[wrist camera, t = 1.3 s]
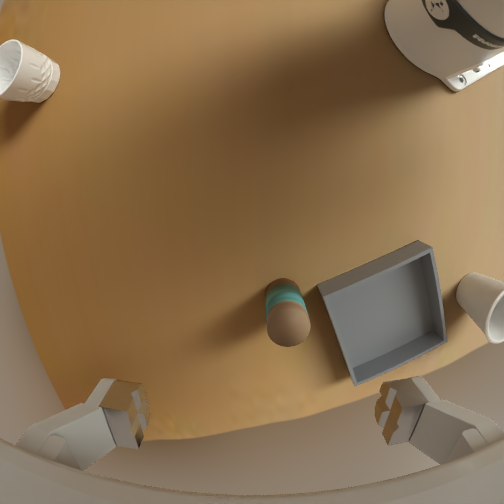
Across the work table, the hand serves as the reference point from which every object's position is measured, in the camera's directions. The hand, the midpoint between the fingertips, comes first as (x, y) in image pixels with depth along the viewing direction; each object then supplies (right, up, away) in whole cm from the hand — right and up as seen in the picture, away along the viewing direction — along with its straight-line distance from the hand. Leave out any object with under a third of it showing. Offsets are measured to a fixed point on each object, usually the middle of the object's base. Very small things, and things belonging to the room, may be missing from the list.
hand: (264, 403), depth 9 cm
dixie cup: (+33, -1, +30) cm, 44 cm away
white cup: (-31, +30, +23) cm, 49 cm away
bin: (+18, -3, +30) cm, 35 cm away
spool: (+3, 0, +30) cm, 30 cm away
